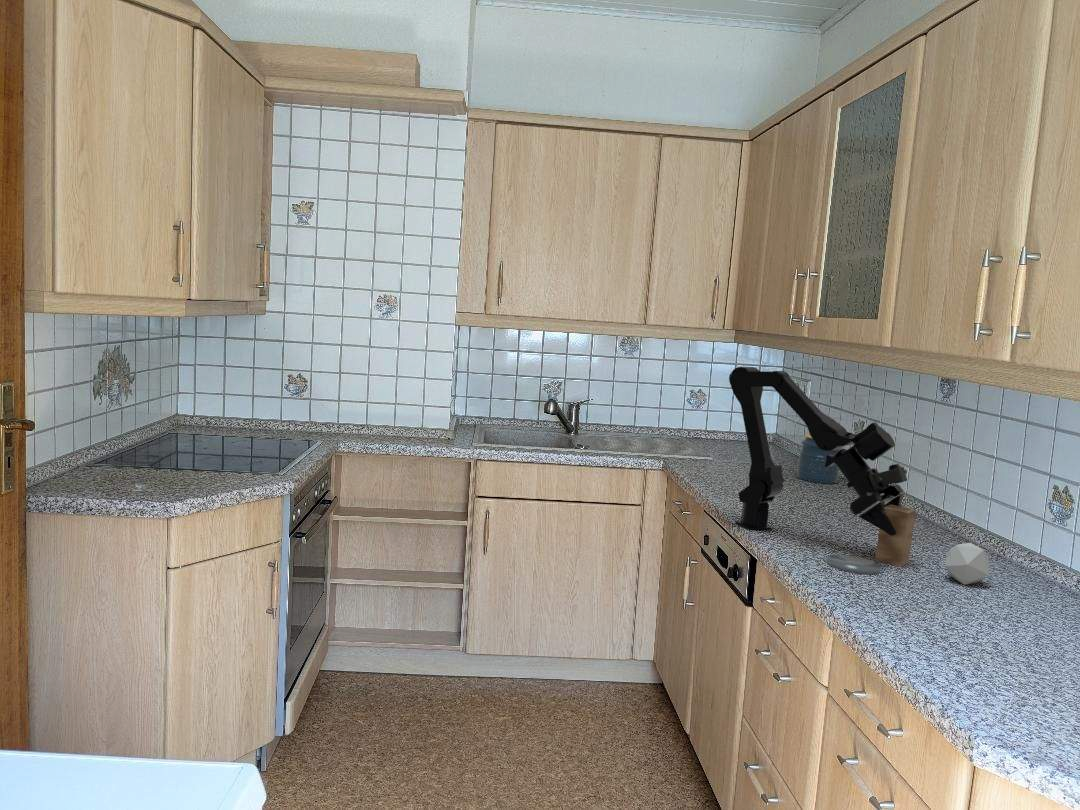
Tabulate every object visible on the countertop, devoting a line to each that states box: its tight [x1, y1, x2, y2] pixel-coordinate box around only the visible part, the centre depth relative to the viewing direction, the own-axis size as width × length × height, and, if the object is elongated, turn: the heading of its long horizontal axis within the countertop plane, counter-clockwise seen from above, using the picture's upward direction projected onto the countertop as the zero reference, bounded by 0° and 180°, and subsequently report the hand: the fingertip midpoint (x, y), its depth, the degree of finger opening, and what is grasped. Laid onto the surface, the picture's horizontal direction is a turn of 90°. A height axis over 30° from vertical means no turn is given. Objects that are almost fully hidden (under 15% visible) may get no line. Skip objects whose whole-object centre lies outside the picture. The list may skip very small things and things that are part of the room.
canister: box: [796, 432, 844, 485], centre depth 285 cm, size 13×13×18 cm
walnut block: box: [874, 504, 917, 568], centre depth 191 cm, size 6×6×12 cm
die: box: [944, 542, 991, 586], centre depth 181 cm, size 8×9×10 cm
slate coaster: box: [825, 554, 882, 575], centre depth 185 cm, size 11×11×1 cm
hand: (901, 531), depth 191 cm, fingers open, 9 cm apart
